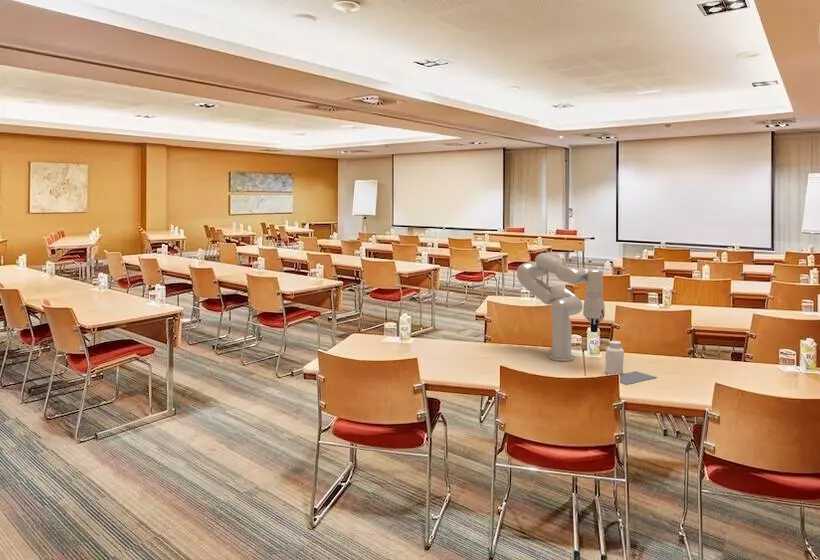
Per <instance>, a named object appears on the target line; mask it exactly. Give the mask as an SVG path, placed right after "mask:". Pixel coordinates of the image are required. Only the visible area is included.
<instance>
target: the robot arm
mask: <svg viewBox="0 0 820 560" xmlns="http://www.w3.org/2000/svg"><path fill="white" fill-rule="evenodd" d="M549 273H551V274H554V275H556V277H557V278H558V279H559V280H561V281H562V282H565V283H567V284H570V285H578V284H586V291H585V295H586V296H585V297H584V301H583V303H582V301H581V299H580V298H579V297H578V296H577V295H575V293H573V292H572V291H570V290H569V289H568V288H567V287H565V286H563V285H548V284H547V283H545V282H544V281H543V280H541V279H539V278H541V277H545V276H546V275H548V274H549ZM516 277H517V279H518V281H519V284H520V285H521V286H523V287H524V288H525V289H527V291H529V292H531V294H532V295H534V296H535V297H536V298H537V299H538V300H539V301H541V302H542V303H543V304H545V305H547V306H548V305H549V306H550V312H551V318H552V347H550V348H549V349H548V352H550V354H549V357H548V358H549V359H550V360H553V361H556V362H570V361H573V360H575V356H574V355H572V335H573V334H572V331H573V330H572V328H573V327H572V321H571V319H570V316H574V315H577V314H580V313H581V312H582V311H583V312H582V316H583V317H584V318H585V319H586V320H588V322H589V324H590V332H591V333H598V332H599V330H598V329H599V324H600V322H604V320H605V319H604V318H605V315H606V308H605V301H604V296H603V295H604V291H603V289H604V287H603V286H604V285H603V284H604V279H603V278H604V273H603V270H602V269H598V268H597V269H596V268H589V267H579V268H571V267H568V266H567V262H566V261H565V259H563V258H561V256H560V254H558V253H557V252H555V251H554V252H553V251H549V252H541V253H539V254H537V255H536V256H535V258H534V261H532V262H531V261H530V262H525V263H522V264H520V265H519V266H518V267H517V270H516Z"/></svg>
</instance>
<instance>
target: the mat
mask: <svg viewBox="0 0 820 560" xmlns="http://www.w3.org/2000/svg"><path fill="white" fill-rule="evenodd" d="M657 378H658V377H657V376H654V375H650V374H647V373H644V372H640V371H630V372H629V371H628V372H625V373H622V374H620V383H619V384H623V385H625V386H628V385H633V384H637V383H640V382H645V381H649V380H653V379H654V380H655V379H657Z"/></svg>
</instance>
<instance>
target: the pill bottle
mask: <svg viewBox="0 0 820 560" xmlns="http://www.w3.org/2000/svg"><path fill="white" fill-rule="evenodd" d="M608 345H609V346H607V347H606V349H605V365H604V367H605V368H604V369H605V370H604V372H605V373H606V374H608V375H612V374H616V373H618V374H619V375H620V374H624V373H623V372H624V355H625V354H624V353H625V351H624V349H623V348H622V342H621V341H619V340H610V341H608Z"/></svg>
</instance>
